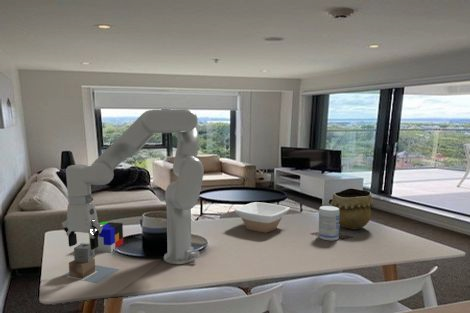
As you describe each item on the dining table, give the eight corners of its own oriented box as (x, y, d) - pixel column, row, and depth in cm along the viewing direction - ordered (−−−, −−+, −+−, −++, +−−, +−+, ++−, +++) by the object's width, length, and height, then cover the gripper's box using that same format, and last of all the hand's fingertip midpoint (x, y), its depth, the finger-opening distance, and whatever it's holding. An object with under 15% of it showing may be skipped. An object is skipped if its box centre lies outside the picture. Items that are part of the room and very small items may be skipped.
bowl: (230, 230, 178) (230, 209, 177) (255, 219, 198) (255, 201, 197) (270, 239, 164) (271, 217, 163) (293, 226, 184) (293, 207, 183)
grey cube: (94, 256, 127) (94, 243, 127) (88, 262, 122) (87, 248, 122) (81, 256, 127) (81, 243, 127) (74, 261, 122) (73, 248, 122)
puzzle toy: (111, 252, 146) (110, 229, 145) (89, 251, 148) (89, 228, 147) (123, 244, 156) (122, 223, 155) (103, 243, 158) (102, 221, 157)
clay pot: (353, 237, 167) (354, 196, 165) (321, 225, 186) (323, 189, 184) (381, 230, 177) (383, 192, 175) (349, 220, 196) (350, 185, 194)
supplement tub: (340, 241, 161) (341, 210, 159) (320, 241, 161) (321, 210, 160) (336, 234, 170) (337, 205, 169) (316, 234, 171) (317, 205, 170)
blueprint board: (120, 270, 128) (120, 269, 128) (97, 285, 117) (97, 283, 117) (85, 264, 134) (85, 263, 134) (60, 277, 122) (60, 276, 122)
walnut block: (95, 271, 126) (94, 258, 125) (83, 278, 120) (82, 265, 120) (81, 269, 128) (81, 256, 127) (69, 276, 122) (68, 262, 122)
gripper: (107, 198, 122) (110, 245, 124) (69, 196, 128) (72, 240, 130) (92, 203, 115) (95, 253, 117) (52, 200, 121) (56, 248, 123)
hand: (83, 246), depth 123 cm, fingers open, 9 cm apart
